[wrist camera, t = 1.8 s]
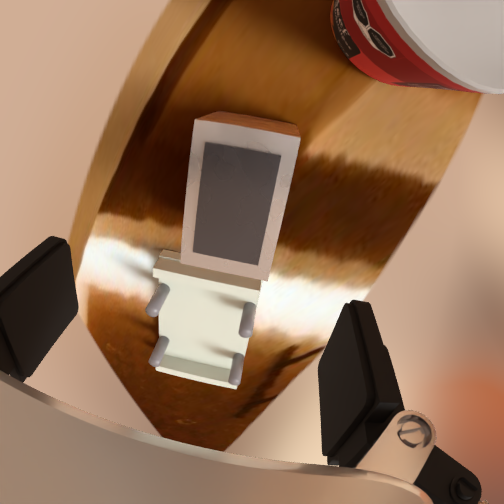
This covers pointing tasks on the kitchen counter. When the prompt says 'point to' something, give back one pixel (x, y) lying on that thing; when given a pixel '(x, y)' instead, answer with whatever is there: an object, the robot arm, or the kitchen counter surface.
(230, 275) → the tray
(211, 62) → the kitchen counter surface
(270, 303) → the kitchen counter surface
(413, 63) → the canned food
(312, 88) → the kitchen counter surface
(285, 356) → the kitchen counter surface
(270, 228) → the box
